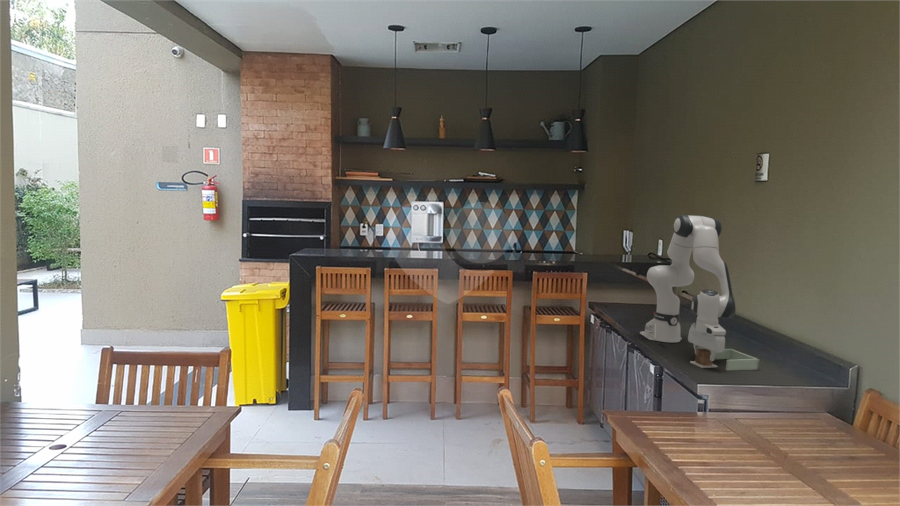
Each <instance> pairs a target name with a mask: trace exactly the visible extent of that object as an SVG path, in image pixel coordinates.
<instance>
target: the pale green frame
mask: <svg viewBox="0 0 900 506" xmlns="http://www.w3.org/2000/svg"><path fill="white" fill-rule="evenodd" d="M714 360H725V361H726V362H725V363H726V365H725V371H731V372H732V371H754V370H755V371H756V370H757V371H758V370H759V369H760V359H759V358H757V357H754V356H752V355H748V354H747V353H743V352H740V351H738V350H736V349H732V348H724V351H723V352H722V353H717V354H716V356H715V357H714Z"/></svg>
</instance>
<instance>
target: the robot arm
mask: <svg viewBox="0 0 900 506" xmlns="http://www.w3.org/2000/svg"><path fill="white" fill-rule="evenodd" d="M672 225H673V228H672V229H673V234H672V237H671V240H670V243H669V246H668V248H667V253H666V254H667V256H668V258H669V259H670V260H671V264H670V265H664V264H663V265H662V264H661V265H660V264H659V265H655V266H651V267H649V268H648V270H647V273H646V280H647V282H648V283H649V285H651V286H652V288H653V289H654V291H655V294H656V311H653V318H652V319H650V320H649V321H648V322H646V323H645V327H644V330H642V331H639V334H640V335H642V336H643V337H645V338H647V339H648V340H650V341H657V342H663V343H679V342H681V341H682V339H683V338H682V336H681V324H680V322H679V321H680V318H681V316H680V306H681V299H680V298H679V296H678V295H676V294H675V293H674V292H673V291H674V290H673V288H675V287H677V288H680V287H686V286H689V285H692V283H693V282H694V280H695V272H694V270H693V269H692V268H691V266H690V261H691V260H690V259H691V257H692V258H693V259H692V260H693V262H694V263H695V264H696V265H697V266H698V267H699V268H701V269H703V270H705V271H708V272H710V273H712V274H714V275H715V276H716V277H717V279H718V281H719V286H720V292H721V295H720V293H719V292H718V291H716V290H714V289H710V288H708V289H707V288H706V289H702V290H700V292H699V294H696V295H694V296H693V297H692V298H691V303H690V305H691V306H690V311H691V312H692V313H693V314H694V315H697V317H696V320H695V321H696V322H693V323H691V326H690V328H689V330H688V336H687V341H688V342H689V343H691V344H693V349H694V355H696V349H699V346H700V347H703V348H705V349H708V350H710V351H711V355H710V356H709V360H710V361H715V359H714V357H715V356H716V354H717V353H722V352H723V351H724V349H726V347H725V346H726V337H725V336H726V334H727V331H726V329H725V328H724V327H722V326H721V325H720V323H719V318H720V319H726V320H729V319H730V318H732V317H733V316H734V315H735V314H736V311H737V306H736V301H735V297H734V294H733V288H732V284H731V283H732V282H731V276H730V272H729V268H728V264H727V263H726V262H725V261H724V260H722V258H721V255H720V250H719V249H720V247H719V246H720V244H719V237H720V235H721V234H722V233H721V232H722V230H723V229H722V223H721V221H720V220H719V219H717V218H715V217H714V218H713V217H707V216H702V215H688V214H681V215H678V216H677V217H675V219H674V222H673V224H672ZM691 255H692V256H691Z"/></svg>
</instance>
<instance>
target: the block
mask: <svg viewBox="0 0 900 506" xmlns="http://www.w3.org/2000/svg"><path fill="white" fill-rule="evenodd" d="M710 355H711V351H710V350H708V349H696V354H695V359H694V361H695V362H696V363H698V364H700V365H712V364H713V361H710V360H709V356H710Z"/></svg>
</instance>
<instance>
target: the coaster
mask: <svg viewBox="0 0 900 506" xmlns="http://www.w3.org/2000/svg"><path fill="white" fill-rule="evenodd" d="M689 363H690V364H692V365H694V366H697V367H699V368H701V369H704V368H706V369H708V368H709V369H710V368H718V365H716V364H714V363H712V365H700V364H698V363H696V362H695V360H694V361H693V360H690V361H689Z"/></svg>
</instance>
